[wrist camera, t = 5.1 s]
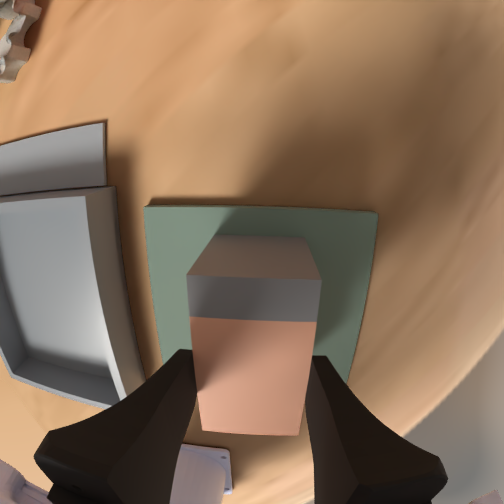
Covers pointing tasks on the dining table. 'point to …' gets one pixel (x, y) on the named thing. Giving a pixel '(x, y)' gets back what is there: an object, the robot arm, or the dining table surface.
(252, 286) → the block
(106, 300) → the grey tray
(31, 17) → the egg carton
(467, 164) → the dining table surface
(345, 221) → the mat
